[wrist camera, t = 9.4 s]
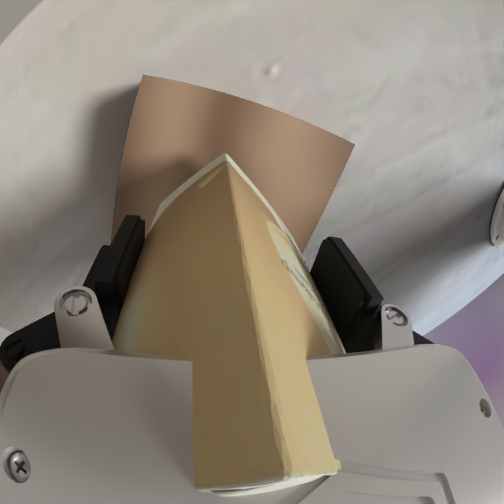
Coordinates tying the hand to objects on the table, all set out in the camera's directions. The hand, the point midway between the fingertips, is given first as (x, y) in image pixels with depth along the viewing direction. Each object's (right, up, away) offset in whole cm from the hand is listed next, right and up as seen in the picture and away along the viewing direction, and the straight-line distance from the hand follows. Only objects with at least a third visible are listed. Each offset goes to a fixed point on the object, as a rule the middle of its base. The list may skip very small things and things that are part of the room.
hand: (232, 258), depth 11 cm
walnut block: (-2, +6, +8) cm, 10 cm away
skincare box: (0, +2, +3) cm, 4 cm away
